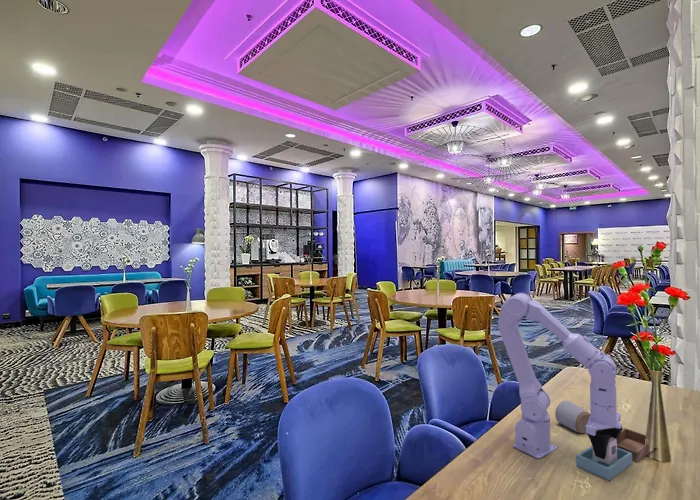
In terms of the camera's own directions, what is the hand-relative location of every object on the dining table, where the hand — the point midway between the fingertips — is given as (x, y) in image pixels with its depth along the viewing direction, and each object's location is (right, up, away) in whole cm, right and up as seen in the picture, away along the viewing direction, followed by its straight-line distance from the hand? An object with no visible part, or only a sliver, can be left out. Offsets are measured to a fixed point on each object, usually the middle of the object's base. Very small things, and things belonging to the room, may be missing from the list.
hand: (604, 454), depth 97 cm
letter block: (0, -1, 0) cm, 1 cm away
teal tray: (0, -3, 0) cm, 3 cm away
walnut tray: (+12, -3, +7) cm, 14 cm away
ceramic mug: (+5, -3, +20) cm, 21 cm away
